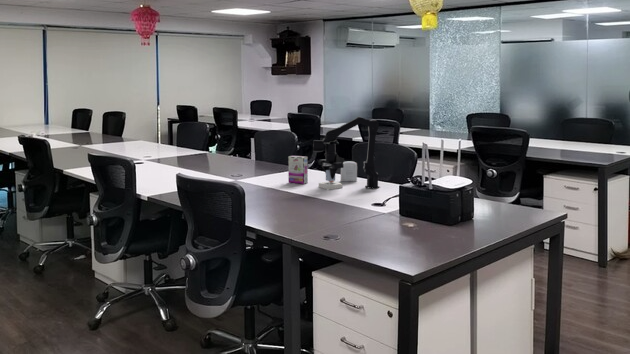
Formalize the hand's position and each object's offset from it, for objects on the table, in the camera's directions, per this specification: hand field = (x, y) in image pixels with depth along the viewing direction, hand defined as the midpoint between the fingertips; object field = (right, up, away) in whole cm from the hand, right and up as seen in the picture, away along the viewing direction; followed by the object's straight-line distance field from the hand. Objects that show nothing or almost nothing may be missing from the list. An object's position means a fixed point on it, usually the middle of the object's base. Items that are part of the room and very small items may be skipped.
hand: (330, 178), depth 343 cm
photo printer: (+12, -2, +21) cm, 24 cm away
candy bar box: (-19, -3, +15) cm, 24 cm away
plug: (0, -1, 0) cm, 1 cm away
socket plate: (0, -5, +1) cm, 5 cm away
